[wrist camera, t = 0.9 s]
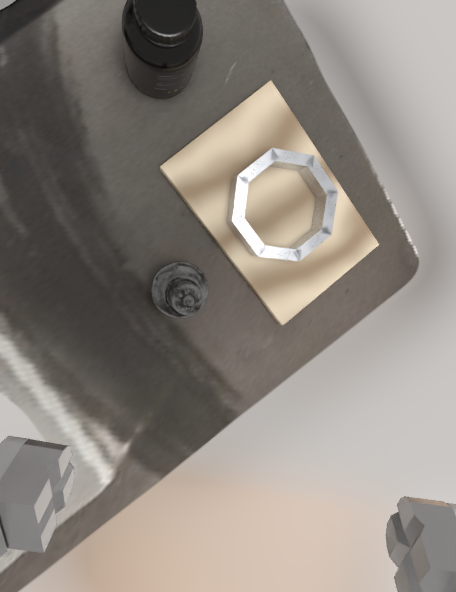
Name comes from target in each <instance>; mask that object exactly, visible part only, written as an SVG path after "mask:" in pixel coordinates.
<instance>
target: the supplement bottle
mask: <svg viewBox="0 0 456 592" xmlns="http://www.w3.org/2000/svg"><path fill="white" fill-rule="evenodd" d="M196 5H197V3H196V1H195V0H127V2H126V4H125V7H124V10H123V15H122V33H123V44H124V55H125V64H126V69H127V72H128V74H129V77H130V79H131V80H132V82H133V83H134V84H135V86H136V87H137V88H138V89H139V90H141V91H142V92H144V93H145V94H147V95H149V96H152V97H155V98H168V97H172V96H174V95H176V94H178V93H179V92H181V91H182V90H183V89H184V88H185V86H186V85H187V83H188V82H189V80H190V77H191V75H192V71H193V68H194V65H195V62H196V59H197V56H198V53H199V50H200V47H201V43H202V37H203V25H202V20H201V16H200V13H199V11H198V9H197V7H196Z"/></svg>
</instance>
